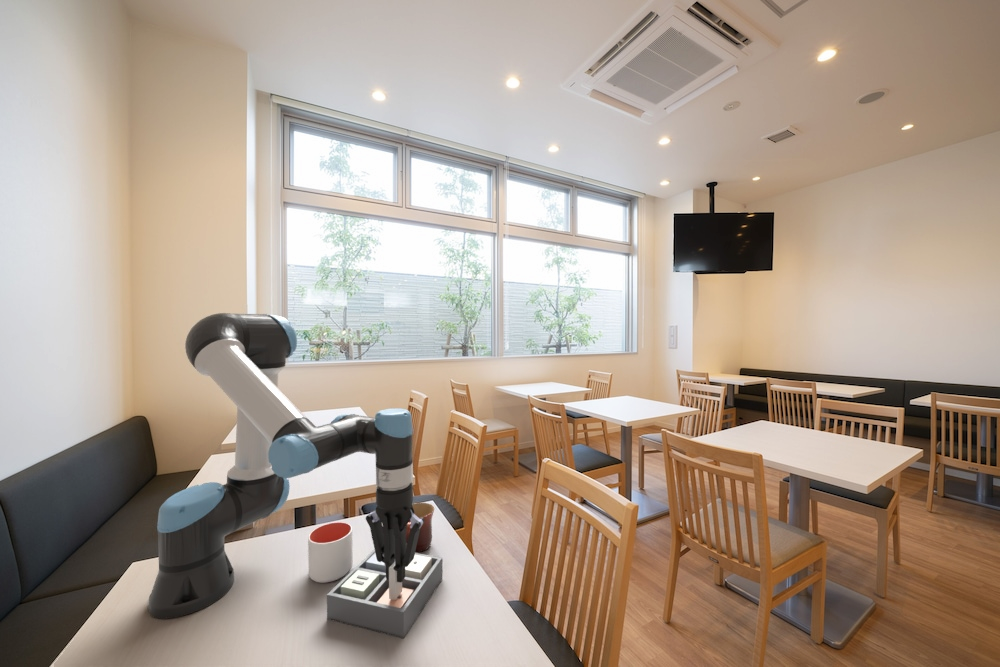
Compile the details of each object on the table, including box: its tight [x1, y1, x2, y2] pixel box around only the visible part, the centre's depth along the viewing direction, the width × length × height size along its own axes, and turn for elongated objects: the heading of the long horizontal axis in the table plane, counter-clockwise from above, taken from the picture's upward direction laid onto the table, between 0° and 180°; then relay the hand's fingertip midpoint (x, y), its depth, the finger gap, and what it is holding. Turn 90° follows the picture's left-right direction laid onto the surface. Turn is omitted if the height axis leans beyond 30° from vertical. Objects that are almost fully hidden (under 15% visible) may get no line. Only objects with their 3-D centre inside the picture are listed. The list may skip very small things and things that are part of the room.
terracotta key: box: [377, 588, 414, 608], centre depth 79 cm, size 6×6×4 cm
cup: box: [307, 521, 353, 584], centre depth 93 cm, size 10×10×10 cm
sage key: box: [341, 570, 379, 600], centre depth 81 cm, size 6×6×4 cm
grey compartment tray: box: [326, 548, 443, 639], centre depth 84 cm, size 18×18×5 cm
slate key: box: [366, 553, 395, 573], centre depth 89 cm, size 6×6×4 cm
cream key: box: [405, 555, 432, 580], centre depth 87 cm, size 6×6×4 cm
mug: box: [406, 502, 435, 553], centre depth 102 cm, size 12×9×10 cm
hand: (395, 594), depth 79 cm, fingers closed
